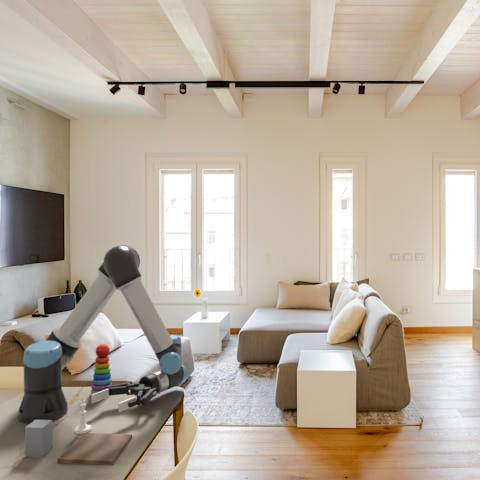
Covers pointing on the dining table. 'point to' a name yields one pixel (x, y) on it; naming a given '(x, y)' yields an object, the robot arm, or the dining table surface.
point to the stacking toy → (101, 370)
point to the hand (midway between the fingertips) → (105, 403)
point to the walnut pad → (96, 449)
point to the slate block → (38, 438)
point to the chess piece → (82, 420)
